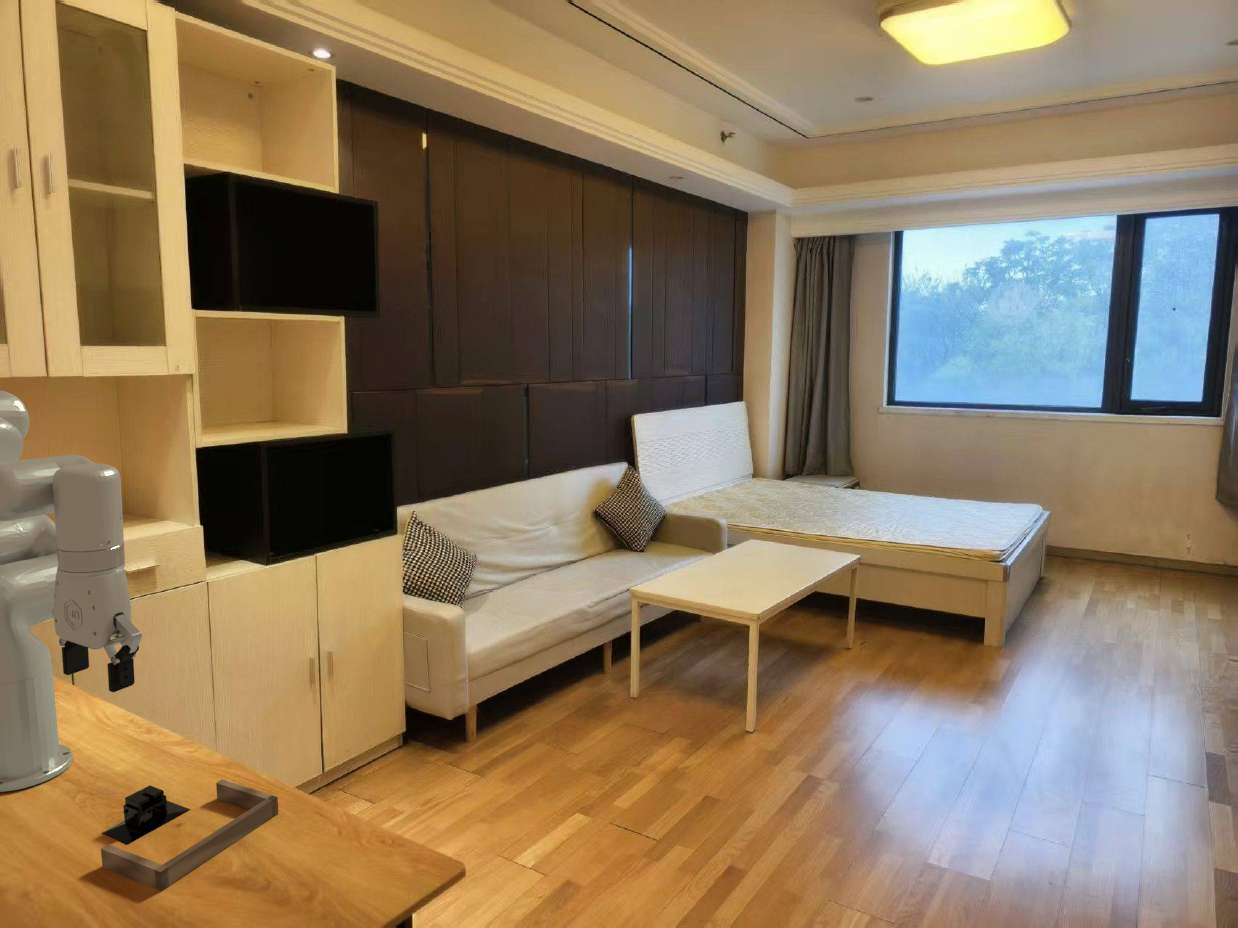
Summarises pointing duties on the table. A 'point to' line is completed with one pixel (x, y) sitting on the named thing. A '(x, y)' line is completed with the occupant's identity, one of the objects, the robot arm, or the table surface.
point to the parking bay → (204, 850)
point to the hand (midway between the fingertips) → (98, 679)
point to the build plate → (144, 815)
